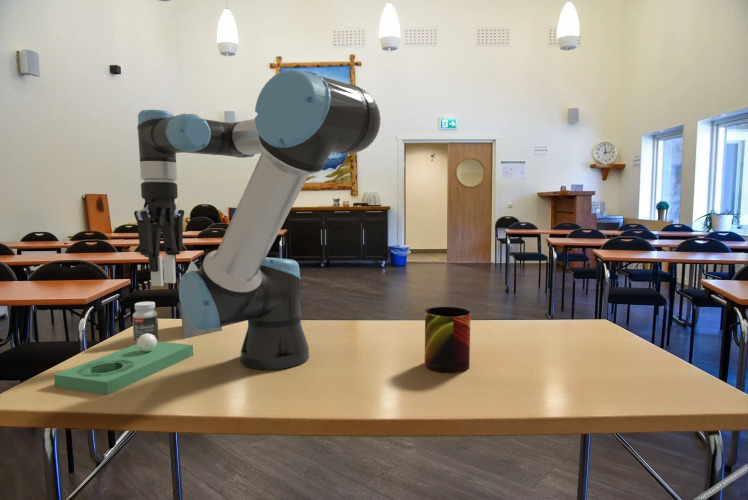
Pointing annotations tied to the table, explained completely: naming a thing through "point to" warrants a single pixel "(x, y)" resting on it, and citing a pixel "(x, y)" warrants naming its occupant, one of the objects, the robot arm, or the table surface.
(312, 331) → the table surface
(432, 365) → the mug
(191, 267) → the planter
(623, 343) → the table surface
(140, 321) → the pill bottle
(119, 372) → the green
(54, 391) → the table surface
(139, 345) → the ball
